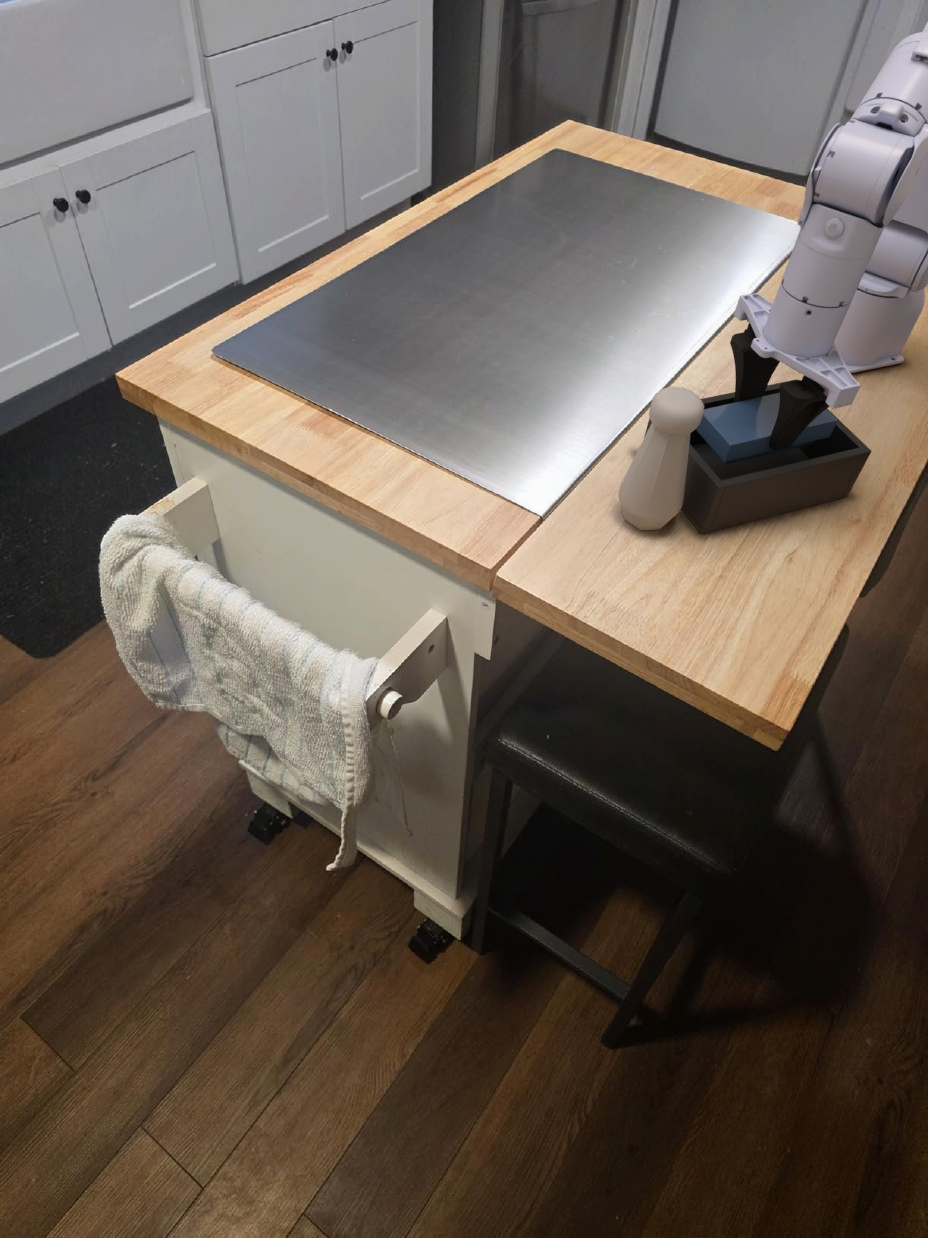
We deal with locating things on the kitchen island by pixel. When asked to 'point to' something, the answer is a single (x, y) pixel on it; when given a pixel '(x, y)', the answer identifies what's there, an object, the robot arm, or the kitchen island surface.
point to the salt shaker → (661, 460)
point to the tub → (767, 476)
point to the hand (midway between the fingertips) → (761, 426)
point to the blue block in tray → (754, 428)
